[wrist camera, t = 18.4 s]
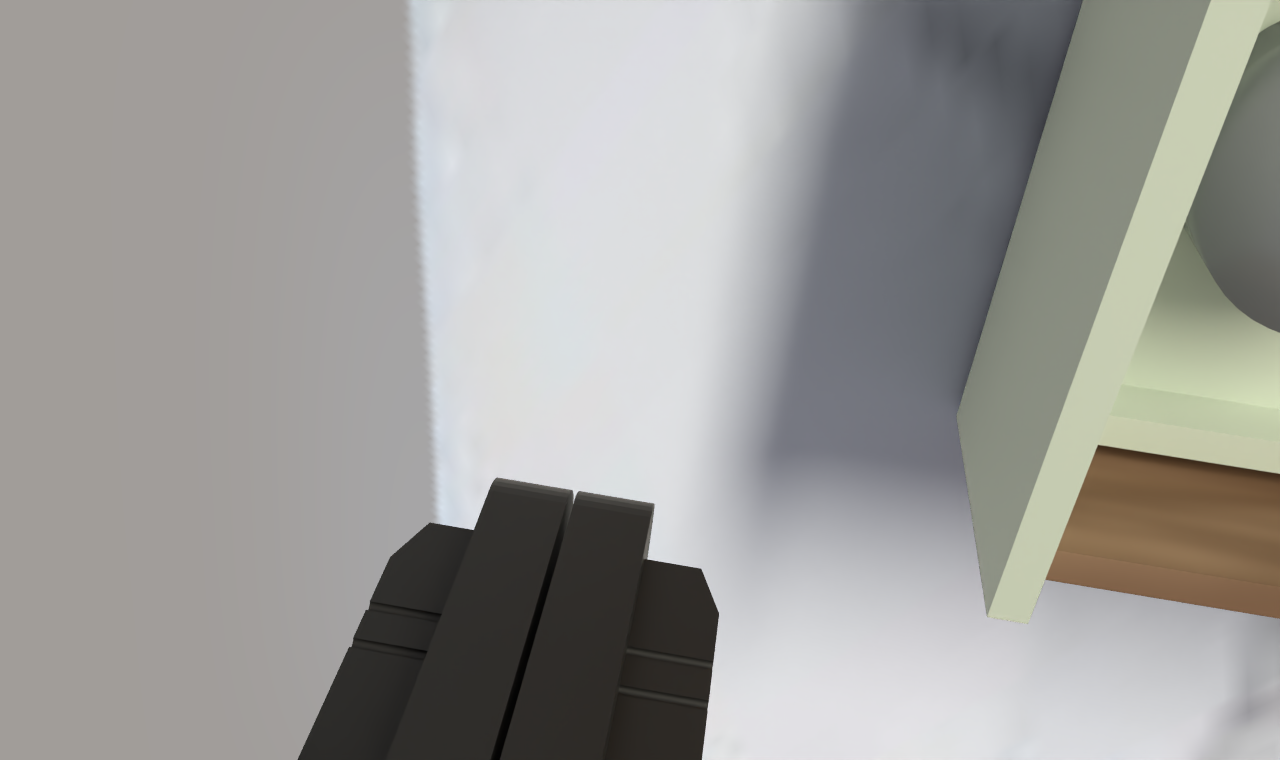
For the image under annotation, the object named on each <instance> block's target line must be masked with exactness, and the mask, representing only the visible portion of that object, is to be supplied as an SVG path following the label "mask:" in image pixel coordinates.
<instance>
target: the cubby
mask: <svg viewBox="0 0 1280 760" xmlns="http://www.w3.org/2000/svg"><path fill="white" fill-rule="evenodd" d="M1045 580H1051V581H1057V582H1063V583H1069V584H1075V585H1081V586H1087V587H1093V588H1099V589H1105V590H1111V591H1117V592H1123V593H1129V594H1135V595H1141V596H1147V597H1153V598H1159V599H1165V600H1171V601H1177V602H1183V603H1189V604H1195V605H1201V606H1207V607H1213V608H1219V609H1225V610H1231V611H1237V612H1243V613H1249V614H1255V615H1261V616H1267V617H1273V618H1279V619H1280V474H1278V473H1272V472H1266V471H1259V470H1253V469H1247V468H1241V467H1234V466H1228V465H1222V464H1216V463H1209V462H1203V461H1197V460H1191V459H1184V458H1178V457H1172V456H1166V455H1159V454H1153V453H1147V452H1141V451H1134V450H1128V449H1122V448H1115V447H1109V446H1103V445H1098V446H1097V448H1096V451H1095V453H1094V456H1093V459H1092V461H1091V464H1090V466H1089V469H1088V471H1087V474H1086V477H1085V479H1084V482H1083V484H1082V487H1081V489H1080V492H1079V494H1078V497H1077V500H1076V502H1075V505H1074V507H1073V510H1072V512H1071V515H1070V517H1069V520H1068V523H1067V525H1066V528H1065V530H1064V533H1063V535H1062V538H1061V540H1060V543H1059V546H1058V548H1057V551H1056V553H1055V556H1054V558H1053V561H1052V564H1051V566H1050V569H1049V571H1048V574H1047V576H1046V579H1045Z"/></svg>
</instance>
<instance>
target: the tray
mask: <svg viewBox="0 0 1280 760" xmlns="http://www.w3.org/2000/svg"><path fill="white" fill-rule="evenodd" d="M1279 21H1280V0H1083V2H1082V5H1081V9H1080V12H1079V15H1078V19H1077V22H1076V25H1075V28H1074V32H1073V35H1072V38H1071V42H1070V45H1069V48H1068V51H1067V55H1066V58H1065V61H1064V65H1063V68H1062V71H1061V74H1060V78H1059V81H1058V84H1057V87H1056V91H1055V94H1054V97H1053V101H1052V104H1051V107H1050V110H1049V114H1048V117H1047V120H1046V124H1045V127H1044V130H1043V133H1042V137H1041V140H1040V143H1039V147H1038V150H1037V153H1036V156H1035V160H1034V163H1033V166H1032V170H1031V173H1030V176H1029V179H1028V183H1027V186H1026V189H1025V193H1024V196H1023V199H1022V202H1021V206H1020V209H1019V212H1018V215H1017V219H1016V222H1015V225H1014V229H1013V232H1012V235H1011V238H1010V242H1009V245H1008V248H1007V252H1006V255H1005V258H1004V261H1003V265H1002V268H1001V271H1000V275H999V278H998V281H997V284H996V288H995V291H994V294H993V298H992V301H991V304H990V307H989V311H988V314H987V317H986V321H985V324H984V327H983V330H982V334H981V337H980V340H979V344H978V347H977V350H976V353H975V357H974V360H973V363H972V366H971V370H970V373H969V376H968V380H967V383H966V386H965V389H964V393H963V396H962V399H961V403H960V406H959V409H958V412H957V416H956V417H957V424H958V430H959V437H960V443H961V450H962V456H963V463H964V470H965V476H966V483H967V489H968V496H969V502H970V509H971V515H972V522H973V528H974V535H975V541H976V548H977V555H978V561H979V568H980V574H981V581H982V587H983V594H984V600H985V607H986V613H987V617H990V618H996V619H1002V620H1007V621H1013V622H1019V623H1025V624H1028V622H1029V620H1030V617H1031V615H1032V612H1033V610H1034V607H1035V604H1036V602H1037V599H1038V597H1039V594H1040V592H1041V589H1042V587H1043V584H1044V581H1045V579H1046V576H1047V574H1048V571H1049V569H1050V566H1051V564H1052V561H1053V558H1054V556H1055V553H1056V551H1057V548H1058V546H1059V543H1060V540H1061V538H1062V535H1063V533H1064V530H1065V528H1066V525H1067V523H1068V520H1069V517H1070V515H1071V512H1072V510H1073V507H1074V505H1075V502H1076V500H1077V497H1078V494H1079V492H1080V489H1081V487H1082V484H1083V482H1084V479H1085V477H1086V474H1087V471H1088V469H1089V466H1090V464H1091V461H1092V459H1093V456H1094V453H1095V451H1096V448H1097V446H1098V445H1103V446H1109V447H1115V448H1122V449H1128V450H1134V451H1141V452H1147V453H1153V454H1159V455H1166V456H1172V457H1178V458H1184V459H1191V460H1197V461H1203V462H1209V463H1216V464H1222V465H1228V466H1234V467H1241V468H1247V469H1253V470H1259V471H1266V472H1272V473H1278V474H1280V333H1279V332H1277V331H1274V330H1271V329H1269V328H1267V327H1265V326H1263V325H1261V324H1259V323H1258V322H1256V321H1254V320H1252V319H1251V318H1249V317H1248V316H1247V315H1246V314H1244V313H1243V312H1242V311H1240V310H1239V309H1238V308H1237V307H1236V306H1235V305H1234V304H1233V303H1232V302H1231V301H1230V300H1229V299H1228V298H1227V297H1226V296H1225V295H1224V293H1223V292H1222V291H1221V289H1220V288H1219V286H1218V285H1217V283H1216V282H1215V280H1214V279H1213V277H1212V275H1211V273H1210V272H1209V270H1208V268H1207V267H1206V265H1205V263H1204V262H1203V260H1202V258H1201V256H1200V255H1199V253H1198V251H1197V250H1196V248H1195V246H1194V245H1193V243H1192V241H1191V239H1190V238H1189V236H1188V234H1187V233H1186V231H1185V229H1184V227H1183V226H1184V223H1185V221H1186V218H1187V216H1188V213H1189V210H1190V208H1191V205H1192V203H1193V200H1194V198H1195V195H1196V193H1197V190H1198V187H1199V185H1200V182H1201V180H1202V177H1203V175H1204V172H1205V170H1206V167H1207V164H1208V162H1209V159H1210V157H1211V154H1212V152H1213V149H1214V146H1215V144H1216V141H1217V139H1218V136H1219V134H1220V131H1221V129H1222V126H1223V123H1224V121H1225V118H1226V116H1227V113H1228V111H1229V108H1230V106H1231V103H1232V100H1233V98H1234V95H1235V93H1236V90H1237V88H1238V85H1239V83H1240V80H1241V77H1242V75H1243V72H1244V70H1245V67H1246V65H1247V62H1248V59H1249V57H1250V54H1251V52H1252V49H1253V47H1254V44H1255V42H1256V39H1257V36H1258V34H1259V33H1260V32H1261V31H1263V30H1264V29H1266V28H1267V27H1269V26H1271V25H1273V24H1275V23H1277V22H1279Z"/></svg>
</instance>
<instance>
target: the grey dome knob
mask: <svg viewBox="0 0 1280 760" xmlns="http://www.w3.org/2000/svg"><path fill="white" fill-rule="evenodd" d="M1183 227H1184V229H1185V231H1186V233H1187V234H1188V236H1189V238H1190V239H1191V241H1192V243H1193V245H1194V246H1195V248H1196V250H1197V251H1198V253H1199V255H1200V256H1201V258H1202V260H1203V262H1204V263H1205V265H1206V267H1207V268H1208V270H1209V272H1210V273H1211V275H1212V277H1213V279H1214V280H1215V282H1216V283H1217V285H1218V286H1219V288H1220V289H1221V291H1222V292H1223V293H1224V295H1225V296H1226V297H1227V298H1228V299H1229V300H1230V301H1231V302H1232V303H1233V304H1234V305H1235V306H1236V307H1237V308H1238V309H1239V310H1240V311H1242V312H1243V313H1244V314H1246V315H1247V316H1248V317H1249V318H1251V319H1252V320H1254V321H1256V322H1258V323H1259V324H1261V325H1263V326H1265V327H1267V328H1269V329H1271V330H1274V331H1277V332H1279V333H1280V21H1279V22H1277V23H1275V24H1273V25H1271V26H1269V27H1267V28H1266V29H1264V30H1263V31H1261V32H1260V33H1259V34H1258V36H1257V39H1256V42H1255V44H1254V47H1253V49H1252V52H1251V54H1250V57H1249V59H1248V62H1247V65H1246V67H1245V70H1244V72H1243V75H1242V77H1241V80H1240V83H1239V85H1238V88H1237V90H1236V93H1235V95H1234V98H1233V100H1232V103H1231V106H1230V108H1229V111H1228V113H1227V116H1226V118H1225V121H1224V123H1223V126H1222V129H1221V131H1220V134H1219V136H1218V139H1217V141H1216V144H1215V146H1214V149H1213V152H1212V154H1211V157H1210V159H1209V162H1208V164H1207V167H1206V170H1205V172H1204V175H1203V177H1202V180H1201V182H1200V185H1199V187H1198V190H1197V193H1196V195H1195V198H1194V200H1193V203H1192V205H1191V208H1190V210H1189V213H1188V216H1187V218H1186V221H1185V223H1184V226H1183Z"/></svg>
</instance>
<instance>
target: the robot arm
mask: <svg viewBox="0 0 1280 760" xmlns="http://www.w3.org/2000/svg"><path fill="white" fill-rule="evenodd" d="M653 514H654V504H653V503H647V502H641V501H635V500H629V499H623V498H617V497H611V496H605V495H599V494H593V493H588V492H582V491H579V492H578V493H577V495H576V498H575V501H574V504H573V491H572V490H568V489H562V488H556V487H550V486H544V485H538V484H532V483H526V482H520V481H514V480H508V479H503V478H496V479H495V480H494V481H493V483H492V485H491V487H490V490H489V492H488V495H487V497H486V500H485V503H484V505H483V508H482V510H481V513H480V516H479V518H478V521H477V523H476V526H475V529H474V530H470V529H464V528H458V527H452V526H446V525H441V524H435V523H429V524H428V525H426V526H425V527H424V528H423V529H422V530H421V531H420V532H418V533H417V534H416V535H415V536H414V537H413V538H412V539H410V540H409V541H408V542H407V543H406V544H405V545H404V546H402V547H401V548H400V549H399V550H398V551H397V552H396V553H394V554H393V555H392V556H391V557H390V559H389V561H388V563H387V565H386V567H385V570H384V572H383V574H382V576H381V578H380V581H379V583H378V585H377V587H376V589H375V591H374V594H373V596H372V598H371V600H370V606H369V610H366V611H365V613H364V616H363V618H362V620H361V622H360V624H359V627H358V629H357V631H356V633H355V635H354V638H353V644H352V647H349V648H348V651H347V653H346V655H345V657H344V659H343V662H342V664H341V666H340V669H339V670H338V672H337V675H336V677H335V679H334V681H333V684H332V686H331V688H330V690H329V693H328V694H327V697H326V699H325V701H324V703H323V705H322V707H321V710H320V712H319V714H318V716H317V718H316V721H315V723H314V725H313V727H312V729H311V732H310V734H309V736H308V738H307V740H306V743H305V745H304V747H303V749H302V751H301V754H300V756H299V758H298V760H702V753H703V744H704V736H705V728H706V719H707V708H708V702H709V694H710V685H711V677H712V666H713V660H714V652H715V643H716V635H717V626H718V618H719V612H718V610H717V607H716V605H715V602H714V600H713V597H712V595H711V592H710V590H709V587H708V585H707V582H706V580H705V577H704V575H703V572H702V570H701V569H699V568H693V567H688V566H682V565H676V564H670V563H664V562H658V561H653V560H647V557H648V550H649V543H650V536H651V529H652V522H653Z"/></svg>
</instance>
